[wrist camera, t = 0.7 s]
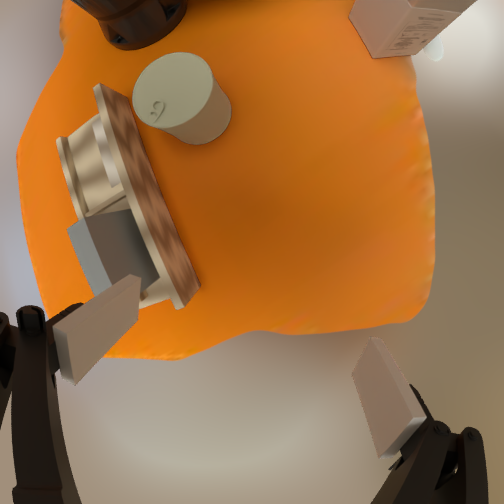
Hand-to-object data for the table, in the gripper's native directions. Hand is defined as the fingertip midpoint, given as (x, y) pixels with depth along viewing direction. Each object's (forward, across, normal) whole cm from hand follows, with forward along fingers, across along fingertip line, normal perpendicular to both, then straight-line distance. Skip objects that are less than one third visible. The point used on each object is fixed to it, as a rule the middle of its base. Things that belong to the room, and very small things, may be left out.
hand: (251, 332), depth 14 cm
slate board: (+24, -17, -4) cm, 29 cm away
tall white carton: (+25, +10, +38) cm, 46 cm away
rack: (+25, -23, 0) cm, 34 cm away
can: (+25, -14, +16) cm, 32 cm away
